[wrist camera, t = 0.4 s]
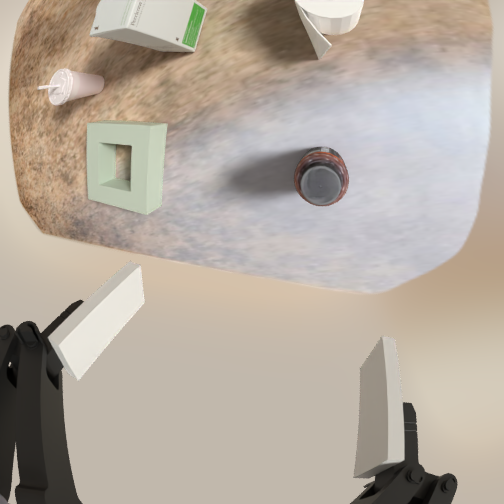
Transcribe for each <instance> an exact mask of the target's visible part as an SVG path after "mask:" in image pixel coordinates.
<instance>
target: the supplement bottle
mask: <svg viewBox="0 0 504 504" xmlns="http://www.w3.org/2000/svg"><path fill="white" fill-rule="evenodd" d="M294 183H295V187H296V189H297V191H298V193H299V195H300V196H301V197H302V198H303V199H304V200H305V201H307V202H308V203H310V204H313V205H316V206H329V205H332V204H334V203H336V202H338V201H339V200H340V199H341V198H342V197H343V196H344V195H345V193H346V191H347V188H348V184H349V176H348V172H347V169H346V166H345V163H344V161H343V159H342V158H341V156H340V155H339V154H338V153H337V152H336V151H334V150H333V149H331V148H328V147H316V148H314V149H312V150H310V151H309V152H307V153H306V154H305V156H304V157H303V158H302V160H301V161H300V162H299V164H298V166H297V168H296V170H295V175H294Z"/></svg>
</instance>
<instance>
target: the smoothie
mask: <svg viewBox="0 0 504 504" xmlns="http://www.w3.org/2000/svg"><path fill="white" fill-rule="evenodd" d="M103 87H104V78H103V77H102V76H100V75H94V74H88V73H82V72H75V71H70V70H69V69H66V68H65V69H59V70H58V71H56V72H55V74H54V75H53V76H52V78H51V81H50V84H49V85H46V86H38V90H40V89H48V88H49V89H48V95H49V99H50V102H51V103H52V104H53V105H62V104H64V103H65V102H67V101H71V100H74V99H78V98H82V97H86V96H90V95H95V94H98V93H100V92H101V91H102V89H103Z"/></svg>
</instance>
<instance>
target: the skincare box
mask: <svg viewBox="0 0 504 504" xmlns="http://www.w3.org/2000/svg"><path fill="white" fill-rule="evenodd" d="M206 12H207V8H206V7H204V6H203V5H202V4H200V3H199V2H197V1H196V0H101V1H100V3H99V4H98V6H97V9H96V16H95V19H94V22H93V25H92V28H91V32H90V36H91V37H101V38H107V39H112V40H117V41H122V42H127V43H131V44H135V45H139V46H143V47H147V48H151V49H154V50H158V51H161V52H195V50H196V47H197V42H198V39H199V36H200V32H201V29H202V25H203V22H204V18H205V15H206Z"/></svg>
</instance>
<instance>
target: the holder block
mask: <svg viewBox="0 0 504 504" xmlns="http://www.w3.org/2000/svg"><path fill="white" fill-rule="evenodd" d="M166 132H167V124H166V123H154V122H139V121H115V120H104V121H97V122H92V123H87V186H88V199H90V200H94V201H97V202H101V203H105V204H108V205H112V206H116V207H119V208H123V209H126V210H130V211H134V212H137V213H141V214H144V215H148V214H149V213H151V212H152V211H154V210H156V209H157V208H159V207H160V206H162V184H163V168H164V154H165V143H166ZM116 144H121V145H131V146H132V155H131V181H128V180H123V179H118V178H115V165H116Z"/></svg>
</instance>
